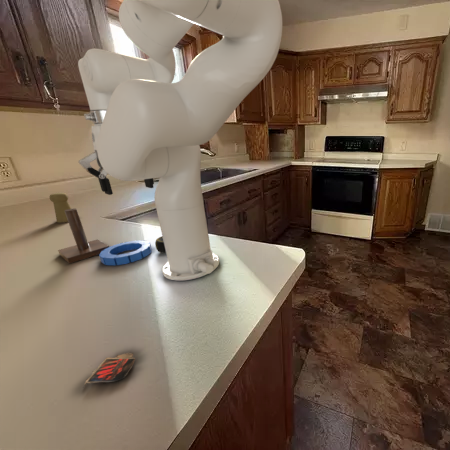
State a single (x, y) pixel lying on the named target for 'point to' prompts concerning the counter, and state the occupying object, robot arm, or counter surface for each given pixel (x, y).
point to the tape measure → (160, 245)
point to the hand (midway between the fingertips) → (130, 190)
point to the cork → (60, 206)
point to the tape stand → (80, 241)
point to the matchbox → (112, 369)
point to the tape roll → (111, 258)
